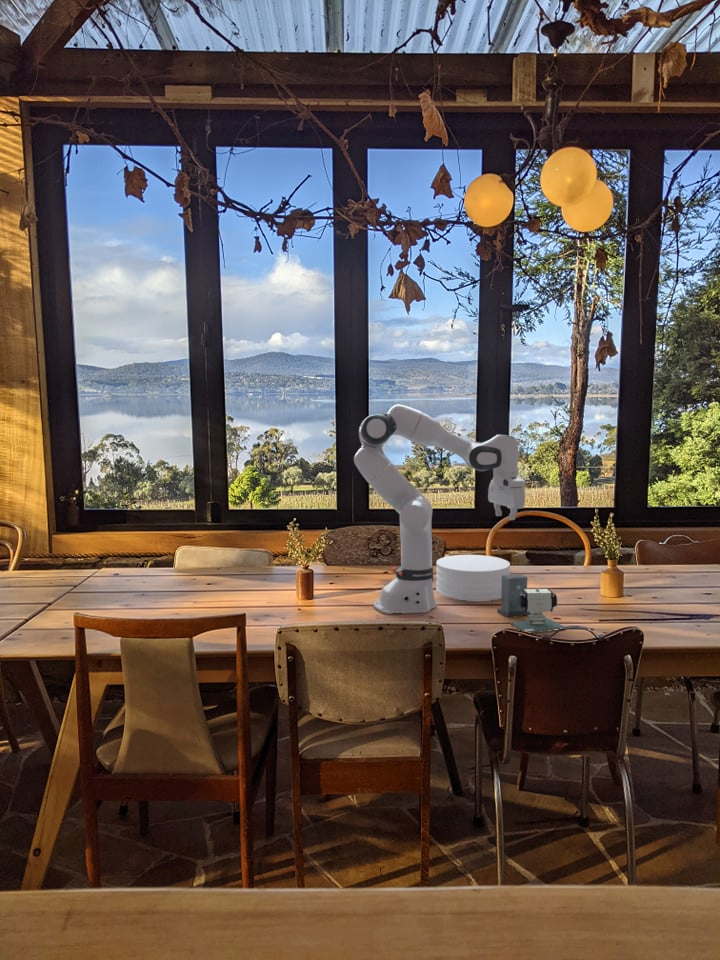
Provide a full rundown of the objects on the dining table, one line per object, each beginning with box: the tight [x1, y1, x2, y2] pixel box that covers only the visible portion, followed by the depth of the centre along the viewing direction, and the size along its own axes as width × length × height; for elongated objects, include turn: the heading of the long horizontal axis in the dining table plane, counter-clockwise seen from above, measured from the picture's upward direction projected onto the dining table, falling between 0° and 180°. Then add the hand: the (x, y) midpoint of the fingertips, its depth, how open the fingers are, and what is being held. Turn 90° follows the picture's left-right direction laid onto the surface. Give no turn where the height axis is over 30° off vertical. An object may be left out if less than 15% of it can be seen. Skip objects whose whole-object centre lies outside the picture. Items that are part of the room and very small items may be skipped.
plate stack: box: [435, 554, 511, 602], centre depth 263 cm, size 28×28×12 cm
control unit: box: [496, 573, 531, 618], centre depth 233 cm, size 9×7×13 cm
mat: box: [510, 617, 565, 634], centre depth 220 cm, size 14×10×1 cm
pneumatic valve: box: [518, 587, 558, 625], centre depth 220 cm, size 6×12×12 cm, turn 91°
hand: (505, 517), depth 245 cm, fingers open, 8 cm apart
